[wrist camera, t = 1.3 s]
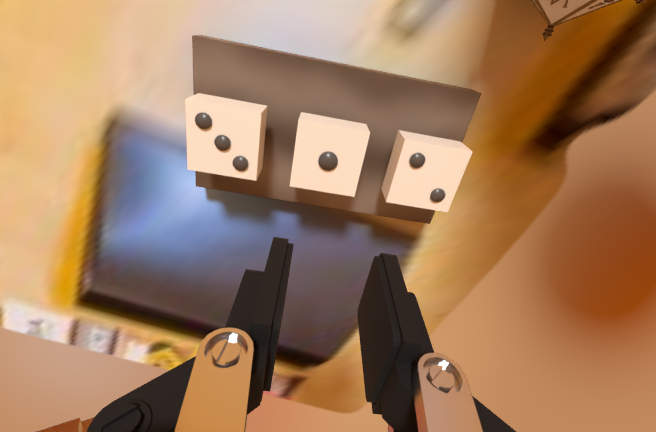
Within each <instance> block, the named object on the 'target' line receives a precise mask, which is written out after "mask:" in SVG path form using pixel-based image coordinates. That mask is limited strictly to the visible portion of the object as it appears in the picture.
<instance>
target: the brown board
mask: <svg viewBox="0 0 656 432" xmlns="http://www.w3.org/2000/svg"><path fill="white" fill-rule="evenodd" d="M192 42H193V84H194V95H195V94H197V93H201V94H207V95H212V96H218V97H223V98H228V99H234V100H239V101H245V102H250V103H255V104H261V105H266V106H268V107H267V118H266V130H265V142H264V154H263V165H262V170H261V172H260V174H259V176H258V178H257V180H256V181H254V180H248V179H242V178H236V177H230V176H224V175H218V174H212V173H206V172H200V171H196V186H198V187H204V188H211V189H217V190H223V191H229V192H236V193H242V194H248V195H254V196H260V197H267V198H273V199H279V200H285V201H292V202H298V203H304V204H310V205H316V206H323V207H329V208H335V209H341V210H348V211H354V212H360V213H366V214H372V215H379V216H385V217H391V218H397V219H404V220H410V221H416V222H422V223H429V224H430V222H431V220H432V217H433V215H434V212H435V210H431V209H424V208H418V207H412V206H406V205H400V204H394V203H388V202H386V201H385V198H384V195H383V192H382V189H381V188H382V185H383V181H384V178H385V174H386V171H387V167H388V164H389V160H390V157H391V153H392V150H393V147H394V143H395V140H396V136H397V133H398V130H401V131H406V132H412V133H417V134H423V135H428V136H433V137H439V138H444V139H450V140H455V141H460V142H461V143H462V141H463V138H464V136H465V133H466V131H467V128H468V126H469V123H470V121H471V118H472V115H473V113H474V110H475V108H476V105H477V103H478V100H479V98H480V95H481V93H479V92H476V91H474V90H471V89H466V88H461V87H456V86H451V85H446V84H441V83H436V82H431V81H426V80H421V79H416V78H411V77H406V76H401V75H396V74H391V73H386V72H382V71H377V70H372V69H367V68H362V67H357V66H352V65H347V64H342V63H337V62H332V61H327V60H322V59H317V58H312V57H307V56H302V55H297V54H292V53H287V52H282V51H277V50H272V49H267V48H262V47H257V46H252V45H247V44H242V43H237V42H232V41H227V40H222V39H217V38H212V37H207V36H202V35H196V36H192ZM301 112H304V113H309V114H315V115H320V116H325V117H331V118H336V119H342V120H347V121H352V122H358V123H363V124H367V127H368V129H369V131H370V136H369V140H368V144H367V148H366V152H365V156H364V160H363V164H362V168H361V172H360V176H359V180H358V184H357V188H356V193H355V197H352V196H346V195H339V194H333V193H327V192H321V191H315V190H309V189H303V188H297V187H291V186H290V179H291V172H292V164H293V157H294V149H295V142H296V134H297V127H298V120H299V117H300V114H301Z"/></svg>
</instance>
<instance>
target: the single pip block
mask: <svg viewBox="0 0 656 432" xmlns="http://www.w3.org/2000/svg"><path fill="white" fill-rule="evenodd" d="M369 136H370V131H369V129H368V127H367V124H363V123H358V122H352V121H347V120H342V119H336V118H331V117H325V116H320V115H315V114H309V113H304V112H301V114H300V117H299V120H298V127H297V134H296V142H295V149H294V157H293V164H292V172H291V179H290V186H291V187H297V188H303V189H309V190H315V191H321V192H327V193H333V194H339V195H346V196H352V197H355V193H356V188H357V184H358V180H359V176H360V172H361V168H362V164H363V160H364V156H365V152H366V148H367V144H368V140H369Z"/></svg>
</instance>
